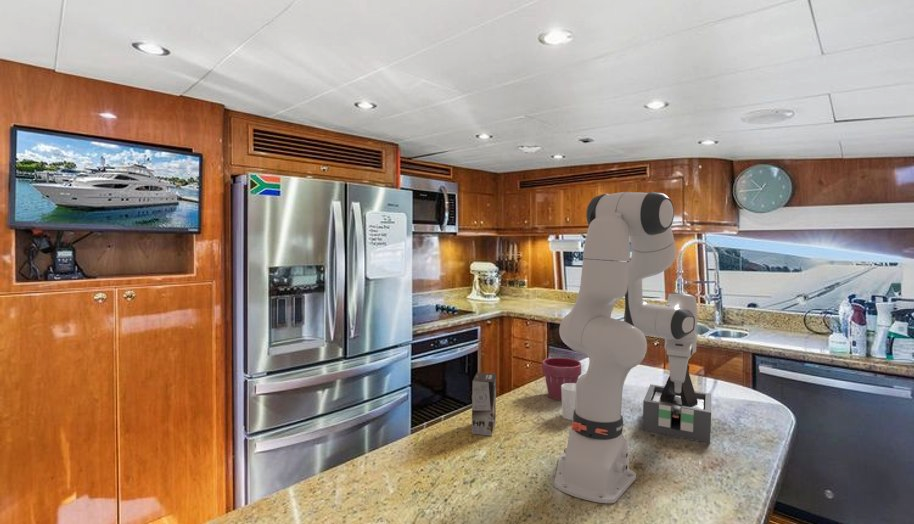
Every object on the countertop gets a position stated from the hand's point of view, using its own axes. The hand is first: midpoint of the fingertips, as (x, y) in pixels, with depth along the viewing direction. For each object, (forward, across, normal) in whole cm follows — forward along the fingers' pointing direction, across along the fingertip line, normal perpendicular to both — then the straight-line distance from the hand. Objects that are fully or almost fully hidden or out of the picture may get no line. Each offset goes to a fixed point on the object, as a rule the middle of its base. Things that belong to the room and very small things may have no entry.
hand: (678, 388), depth 140 cm
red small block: (+6, +9, 0) cm, 11 cm away
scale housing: (+12, 0, 0) cm, 12 cm away
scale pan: (+5, +2, 0) cm, 6 cm away
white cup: (+12, +10, -30) cm, 34 cm away
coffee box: (+12, +33, -51) cm, 62 cm away
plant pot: (+12, -7, -39) cm, 41 cm away
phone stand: (+4, 0, 0) cm, 4 cm away
